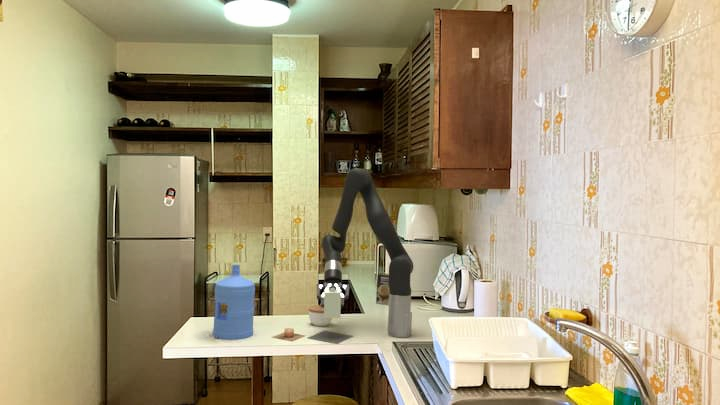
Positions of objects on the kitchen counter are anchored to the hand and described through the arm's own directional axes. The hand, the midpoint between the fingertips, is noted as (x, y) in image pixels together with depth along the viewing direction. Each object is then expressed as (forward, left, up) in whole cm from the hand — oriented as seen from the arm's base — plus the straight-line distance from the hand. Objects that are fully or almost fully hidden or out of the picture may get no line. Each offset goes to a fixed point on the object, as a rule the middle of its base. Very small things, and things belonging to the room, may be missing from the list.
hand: (332, 306), depth 198 cm
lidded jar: (+15, -16, -13) cm, 26 cm away
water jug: (+35, +18, -13) cm, 41 cm away
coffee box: (+11, -78, -13) cm, 80 cm away
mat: (+1, -1, -13) cm, 13 cm away
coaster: (+15, +8, -13) cm, 21 cm away
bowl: (+15, +8, -12) cm, 21 cm away
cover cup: (+1, -1, -4) cm, 4 cm away
